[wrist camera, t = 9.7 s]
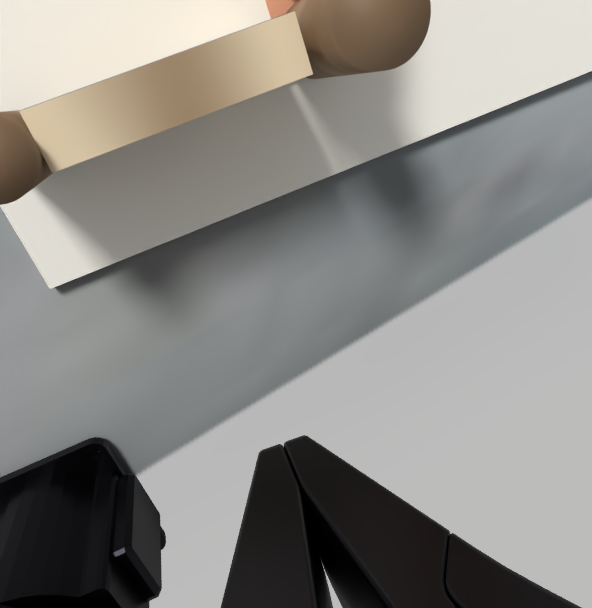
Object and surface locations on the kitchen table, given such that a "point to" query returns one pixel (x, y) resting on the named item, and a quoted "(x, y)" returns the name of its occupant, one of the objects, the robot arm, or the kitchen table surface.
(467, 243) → the kitchen table surface
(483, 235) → the kitchen table surface
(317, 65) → the fence gate
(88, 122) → the beige flat block
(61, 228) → the card
